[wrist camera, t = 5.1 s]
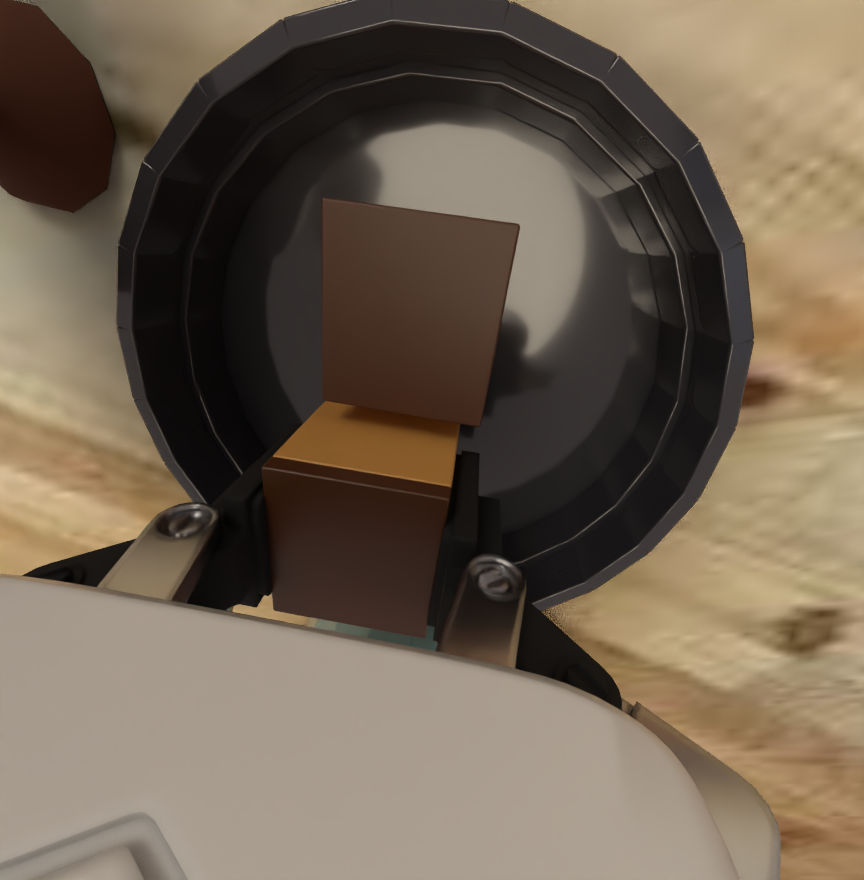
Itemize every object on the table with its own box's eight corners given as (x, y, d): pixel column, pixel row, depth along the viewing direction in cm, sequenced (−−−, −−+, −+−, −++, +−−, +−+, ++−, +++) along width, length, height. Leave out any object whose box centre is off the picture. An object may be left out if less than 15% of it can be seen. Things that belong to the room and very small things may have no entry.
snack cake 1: (372, 352, 14) (321, 401, 10) (380, 211, 12) (320, 196, 8) (484, 371, 14) (480, 428, 10) (511, 229, 12) (521, 224, 8)
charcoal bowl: (235, 509, 19) (173, 574, 15) (177, 42, 12) (27, -51, 8) (588, 576, 18) (613, 664, 14) (781, 111, 10) (940, 41, 7)
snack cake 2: (334, 502, 15) (272, 611, 10) (335, 388, 13) (260, 466, 8) (442, 521, 14) (425, 639, 10) (462, 409, 12) (450, 499, 8)
